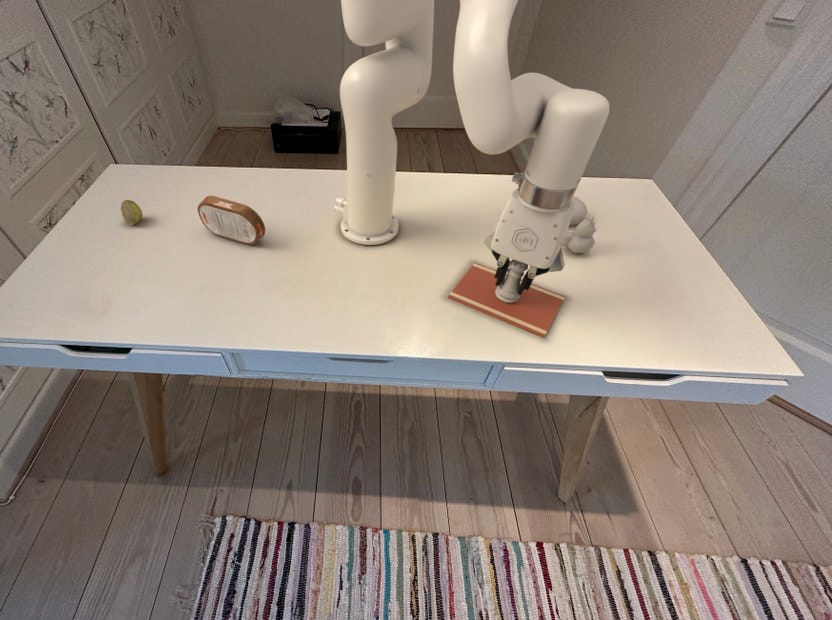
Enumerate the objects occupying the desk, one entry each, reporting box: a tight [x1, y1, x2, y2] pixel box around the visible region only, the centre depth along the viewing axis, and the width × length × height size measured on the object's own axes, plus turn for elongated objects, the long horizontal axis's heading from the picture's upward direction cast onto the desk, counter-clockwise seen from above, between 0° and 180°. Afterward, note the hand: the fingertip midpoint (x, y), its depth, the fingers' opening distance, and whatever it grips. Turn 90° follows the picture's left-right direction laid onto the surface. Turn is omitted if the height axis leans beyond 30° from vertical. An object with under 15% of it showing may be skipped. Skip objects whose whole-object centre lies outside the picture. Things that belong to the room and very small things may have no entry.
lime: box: [120, 199, 144, 226], centre depth 92 cm, size 4×5×5 cm
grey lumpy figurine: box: [562, 215, 597, 254], centre depth 84 cm, size 5×7×8 cm
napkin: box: [447, 262, 566, 339], centre depth 78 cm, size 18×12×1 cm, turn 56°
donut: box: [569, 195, 588, 227], centre depth 93 cm, size 10×4×10 cm
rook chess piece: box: [495, 259, 529, 303], centre depth 74 cm, size 4×4×8 cm
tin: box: [197, 195, 266, 246], centre depth 87 cm, size 15×3×8 cm, turn 65°
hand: (510, 285), depth 75 cm, fingers closed on rook chess piece, 3 cm apart
